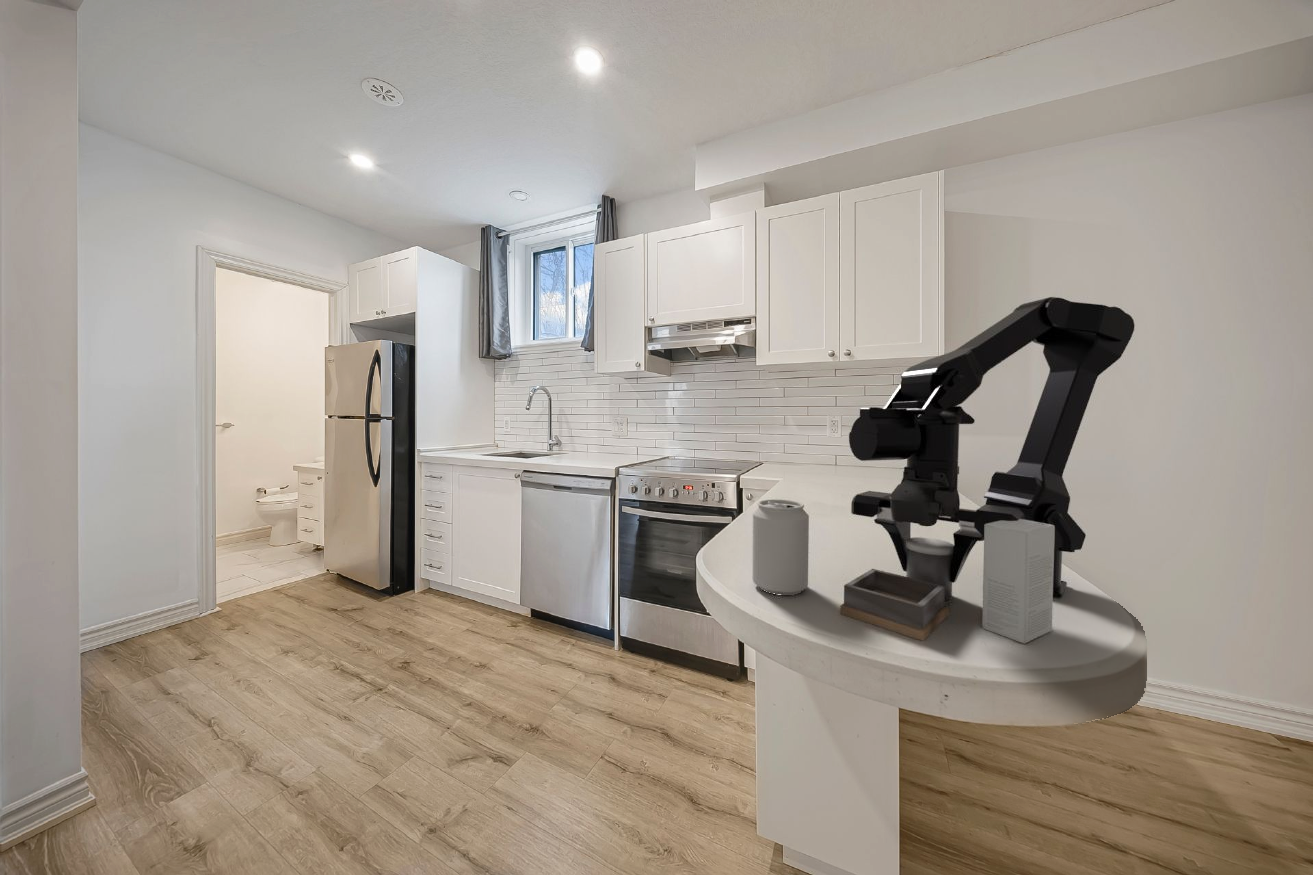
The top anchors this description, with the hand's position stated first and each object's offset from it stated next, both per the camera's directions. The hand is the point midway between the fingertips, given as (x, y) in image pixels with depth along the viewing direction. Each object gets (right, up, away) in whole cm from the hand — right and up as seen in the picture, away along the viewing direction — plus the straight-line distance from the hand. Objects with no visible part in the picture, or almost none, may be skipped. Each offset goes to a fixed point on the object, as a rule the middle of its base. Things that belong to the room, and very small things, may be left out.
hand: (928, 576), depth 59 cm
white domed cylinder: (0, -3, 0) cm, 2 cm away
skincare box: (+4, -3, -10) cm, 11 cm away
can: (-19, -3, +3) cm, 19 cm away
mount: (-8, -3, -6) cm, 10 cm away
